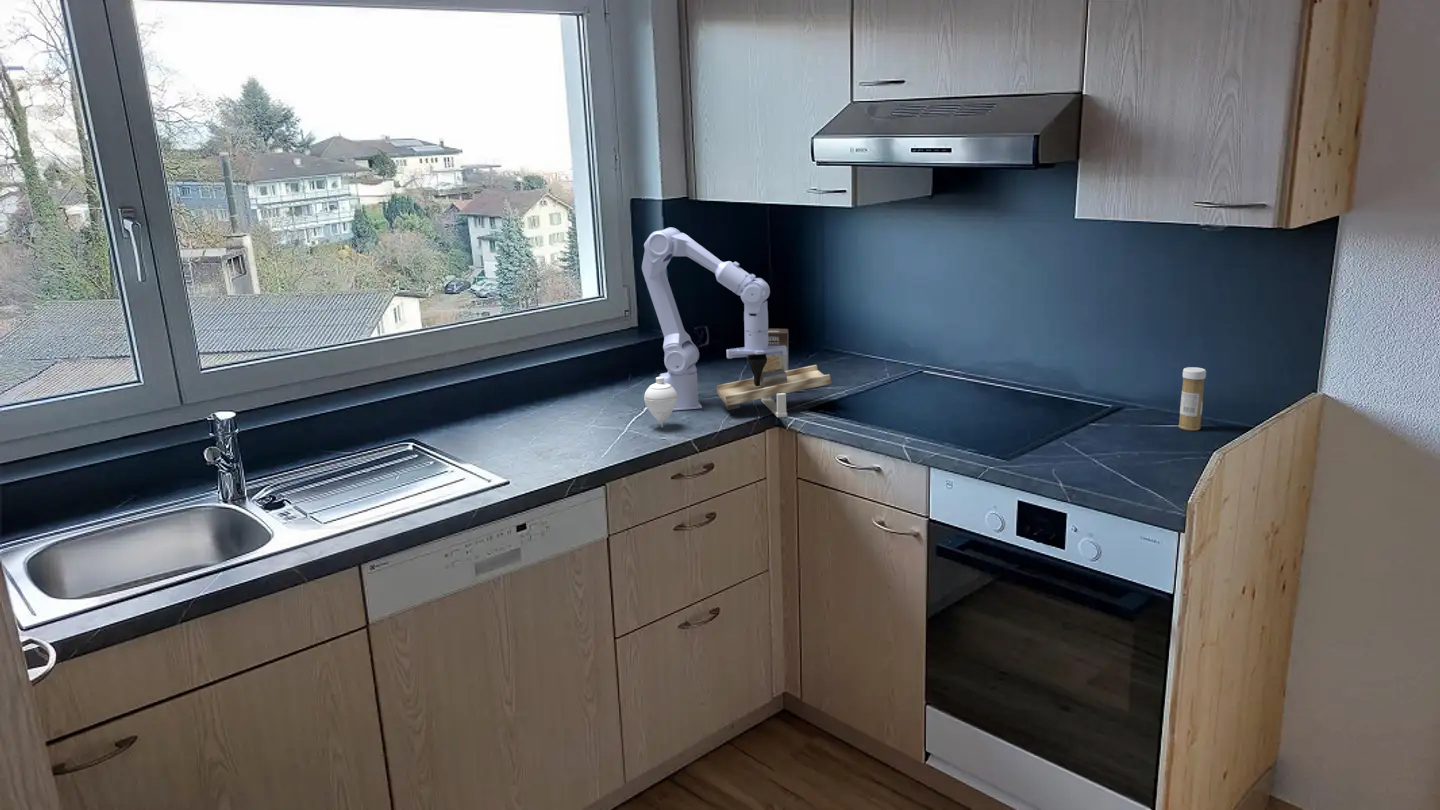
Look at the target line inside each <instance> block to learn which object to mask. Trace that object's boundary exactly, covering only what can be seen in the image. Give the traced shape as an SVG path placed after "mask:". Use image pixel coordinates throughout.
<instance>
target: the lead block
mask: <svg viewBox="0 0 1440 810" xmlns="http://www.w3.org/2000/svg"><path fill="white" fill-rule="evenodd" d="M785 383H788V382H787V375H786V372H784V371H783V370H782V369H776V370H772V371H767V372H762V374H761V377H760V386H761V387H762V388H766V387H771V386H775V385H778V384H779V385H780V384H785Z"/></svg>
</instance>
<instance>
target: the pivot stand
mask: <svg viewBox="0 0 1440 810" xmlns="http://www.w3.org/2000/svg"><path fill="white" fill-rule="evenodd" d="M760 401H761V403H763V404H764V406H766V407H767V409H769V410H770V411H771V413H773V414H774V416H776V417H777V418H787V417H788V412H787V393H778V394H777V395H776V401H775V400H774V398H772V396H770V397H766V398H761V399H760Z"/></svg>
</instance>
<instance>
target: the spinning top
mask: <svg viewBox="0 0 1440 810" xmlns="http://www.w3.org/2000/svg"><path fill="white" fill-rule="evenodd" d="M643 398H644V399H643V401H644V403H645V405H646V407H647V409H648V410H649V412H650V413H651V415H652V416H653V417H654V418H655V420H656V421H657V422H658V423H659V424H660V426H661V428H664V423H665V422H666V421H667V420H668V418H669V417H670V415H671V413H672V412H674V411H673V409H674V407H675V405H676V402H677V393H676V391H675V389H674V388H673V387H672V386H671V385H670V384H668V383H664V377H659V376H657V377H655V383H652V384H651V385H649V386H648V388H646V391H645V393H644V395H643Z"/></svg>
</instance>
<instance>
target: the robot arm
mask: <svg viewBox="0 0 1440 810" xmlns="http://www.w3.org/2000/svg"><path fill="white" fill-rule="evenodd" d="M643 248H644V253H643V259H642V263H641V271H642V274H643V277H644V281H645V283H646V286H647V290H648V292H649V296H650V298H651V302H652V304H653V307H654V310H655V313H656V316H657V319H658V322H659V325H660V328H661V333H662V335H663V339H664V340H663V345H662V349H663V352H664V357H663V359H664V360H663V361H664V366H665V368H666V369H667V372H664V373H663V372H662V373H660V374H659V376H658V377H664V383H668V384H670V385H671V386H672V387H673V388H674V389H675V391H676V393H677V402H676V405H675V407H674V409H673V411H672V412H674V411H684V410H685V411H686V410H697V409H702V408H703V405H701V403H700V401H699V392H698V371H697V370H698V369H697V367H696V363H697V362H698V360H699V359H700V352H699V348H698V347H697V346H696V344H694V342H693V341H692V338H691V336H690V334H689V333H687V332H686V330H685V327H684V325H683V322H682V318H681V316H680V312H679V310H678V305H677V303H676V299H675V298H674V294H673V292H672V291H673V290H672V288H671V286H670V282H669V279H668V276H667V273H666V268H667V267H668V265H669V263H670V261H671V259H672V258H673V257H687V258H689V259H691V260H692V261H694V262H695V263H697V264H699V265H700V266H702V267H704V268H705V269H707V270H709V271H711V272H712V273H714V275H715V279H716V281H717V282H718V283H719V284H721V285H722V286H723V287H725V288H727V289H728V290H730V291H732V293H734V294H735V295H737V296H740V299H741V301H742V303H743V304H744V305H743V307H744V308H743V309H744V311H743V322H744V323H743V324H744V325H743V326H744V329H743V330H744V346H743V347H736V348H735V347H734V348H729V349H728V348H727V349H725V350H726V358H727V359H733V358H735V359H736V358H746V361H747V362H748V365H749V367H750V369H751V372H752V375H753V378H754V385H755V386H760V377H761V374H762V371H763V368H764V366H765V364H766V362H767V357H766V355H780V354H782V355H787V347H786V346H768V329H769V310H768V300H767V299H768V298H769V297H770V294H771V290H770V289H771V288H770V286H769V284H768V282H766V280H764V279H763V278H761V277H756V275H755V274H754V273H749V272H747V271H746V270H744V269H743V268H742V267H740V263H739V262H737V261H734V262H732V261H730V260H728V261H722V260H720V259H719V258H718V257H717V256H715V255H714V254H713V253H712V252H710V251H709V250H707V249H706V248H705V247H704V246H702V245H701V244H699V243H698V242H697V241H695V240H694V239H693V238H691V237H690V236H689V235H687V234H686V233H684V232H681V231H680V230H679V229H677V228H675V227H670V226H669V227H667V228H664V229H661V230H656V231H655V230H654V231H653V232H652V233H650V235H649V236H648V237H647V239H646V240H645V242H644V244H643Z"/></svg>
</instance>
